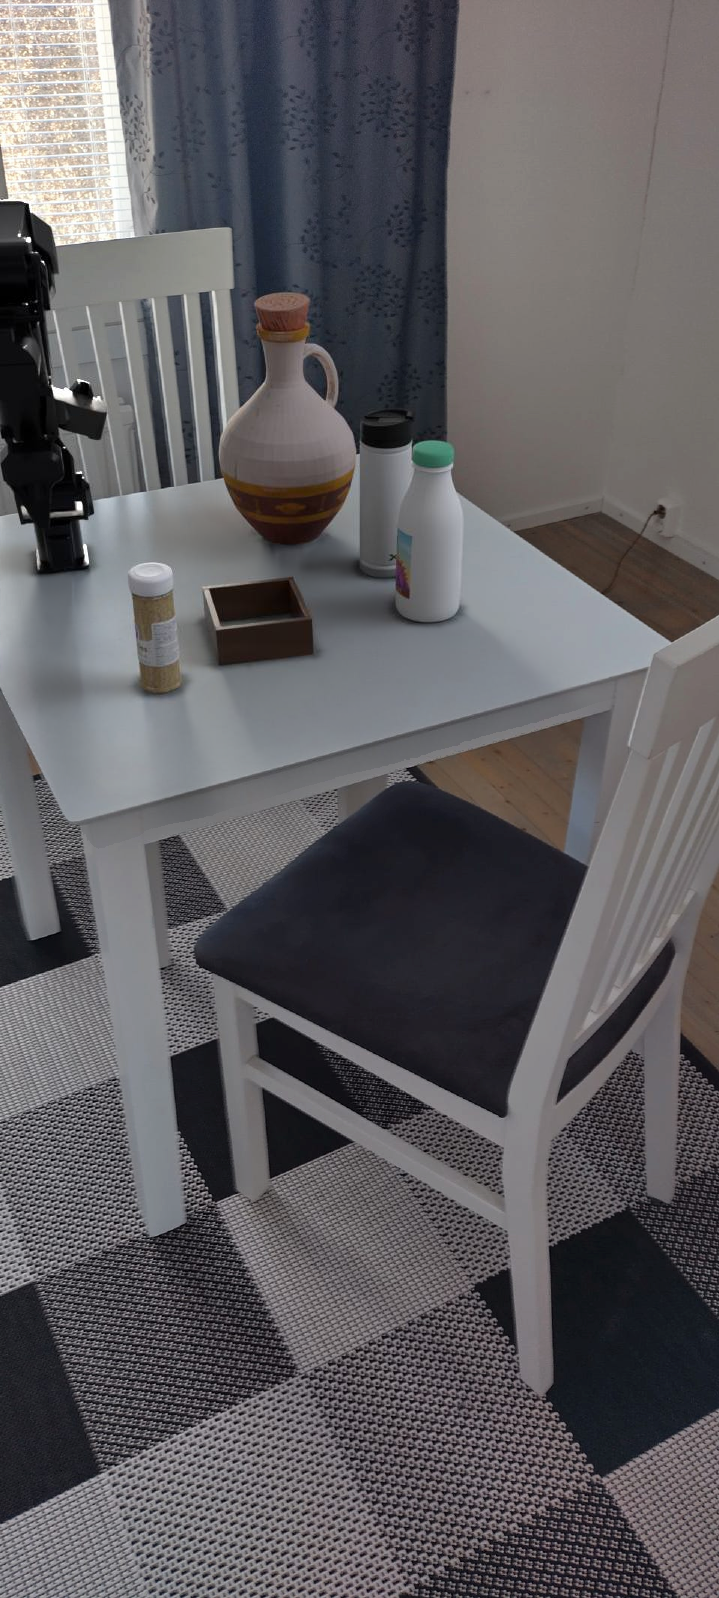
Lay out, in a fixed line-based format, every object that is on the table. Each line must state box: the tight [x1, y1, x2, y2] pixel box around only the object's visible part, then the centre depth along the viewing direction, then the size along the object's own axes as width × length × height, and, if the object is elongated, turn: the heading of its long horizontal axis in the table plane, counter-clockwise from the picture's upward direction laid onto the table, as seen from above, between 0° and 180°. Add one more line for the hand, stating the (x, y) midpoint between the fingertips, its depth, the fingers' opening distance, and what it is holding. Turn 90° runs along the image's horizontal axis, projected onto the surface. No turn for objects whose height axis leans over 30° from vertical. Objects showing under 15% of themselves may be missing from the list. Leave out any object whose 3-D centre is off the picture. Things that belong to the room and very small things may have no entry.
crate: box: [201, 576, 314, 667], centre depth 135 cm, size 11×11×4 cm
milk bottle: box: [394, 440, 464, 623], centre depth 136 cm, size 8×8×20 cm
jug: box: [218, 291, 357, 546], centre depth 151 cm, size 20×18×30 cm
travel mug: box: [359, 408, 417, 579], centre depth 145 cm, size 6×7×20 cm
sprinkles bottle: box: [127, 562, 183, 694], centre depth 124 cm, size 5×5×13 cm
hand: (42, 512), depth 133 cm, fingers open, 9 cm apart
